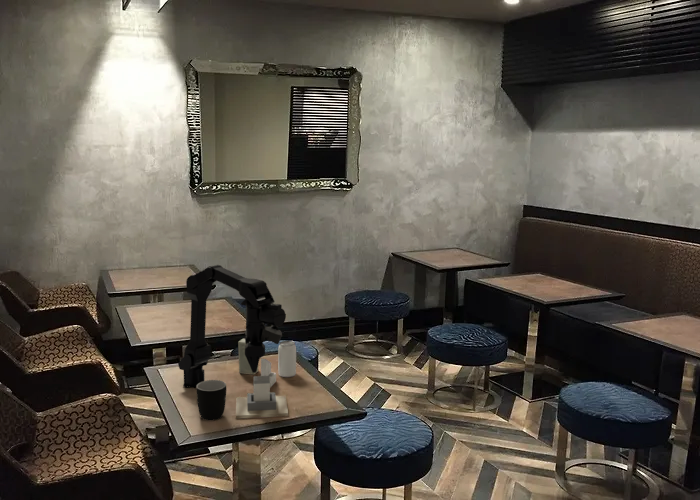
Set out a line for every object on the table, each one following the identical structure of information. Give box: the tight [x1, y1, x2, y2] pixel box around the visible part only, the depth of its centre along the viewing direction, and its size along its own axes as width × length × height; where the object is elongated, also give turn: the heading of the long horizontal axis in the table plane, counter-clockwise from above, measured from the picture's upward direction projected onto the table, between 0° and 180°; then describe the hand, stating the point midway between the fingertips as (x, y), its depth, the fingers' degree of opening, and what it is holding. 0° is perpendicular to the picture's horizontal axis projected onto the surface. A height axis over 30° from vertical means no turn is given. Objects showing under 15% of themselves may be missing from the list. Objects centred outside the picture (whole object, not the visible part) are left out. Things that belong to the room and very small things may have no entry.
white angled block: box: [260, 357, 277, 388], centre depth 217 cm, size 4×10×9 cm, turn 168°
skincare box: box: [237, 338, 259, 376], centre depth 228 cm, size 6×4×12 cm
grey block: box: [253, 375, 271, 401], centre depth 197 cm, size 5×4×9 cm
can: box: [277, 340, 297, 378], centre depth 227 cm, size 6×6×12 cm
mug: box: [195, 379, 227, 422], centre depth 191 cm, size 12×9×10 cm
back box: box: [246, 392, 277, 411], centre depth 197 cm, size 9×8×2 cm
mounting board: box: [235, 395, 289, 420], centre depth 198 cm, size 16×14×1 cm
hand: (254, 367), depth 199 cm, fingers open, 9 cm apart
